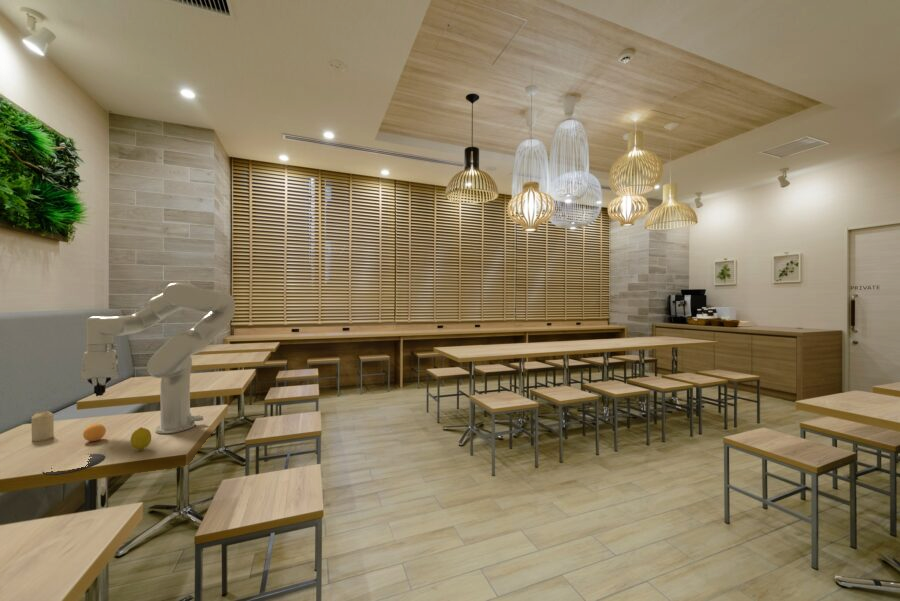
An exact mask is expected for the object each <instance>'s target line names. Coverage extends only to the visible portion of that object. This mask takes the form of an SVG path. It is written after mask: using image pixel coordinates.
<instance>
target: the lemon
mask: <svg viewBox="0 0 900 601" xmlns="http://www.w3.org/2000/svg"><path fill="white" fill-rule="evenodd" d="M130 436H131V437H130V440H129V441H130V445H131V447H132V448H133V449H134V450H138V451H140V452H141V451H143V450H144V449H146V448H147V447H148V446H149V445H150V444H151V442H152V433H151V431H150V429H147V428H146V427H142V426H141V427H139V428H137V429H136V430H134V432H132V434H131V435H130Z"/></svg>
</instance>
